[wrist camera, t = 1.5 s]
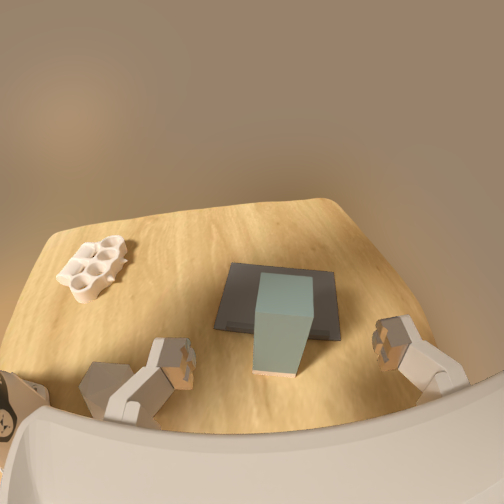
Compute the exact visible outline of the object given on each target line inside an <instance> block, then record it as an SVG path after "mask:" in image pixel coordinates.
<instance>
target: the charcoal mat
mask: <svg viewBox="0 0 504 504" xmlns="http://www.w3.org/2000/svg"><path fill="white" fill-rule="evenodd" d="M261 272H263V273H274V274H284V275H295V276H306V277H312V280H313V309H314V318H313V321H312V325H311V328H310V332H309V335H308V338H307V339H318V340H336V341H340V340H341V338H340V327H339V316H338V306H337V297H336V288H335V280H334V272H327V271H316V270H305V269H294V268H283V267H273V266H262V265H252V264H242V263H231V267H230V270H229V274H228V278H227V281H226V285H225V288H224V292H223V296H222V299H221V303H220V307H219V310H218V314H217V318H216V321H215V325H214V329H219V330H226V331H234V332H242V333H250V334H254V326H255V309H256V303H257V296H258V290H259V284H260V277H261Z"/></svg>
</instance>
